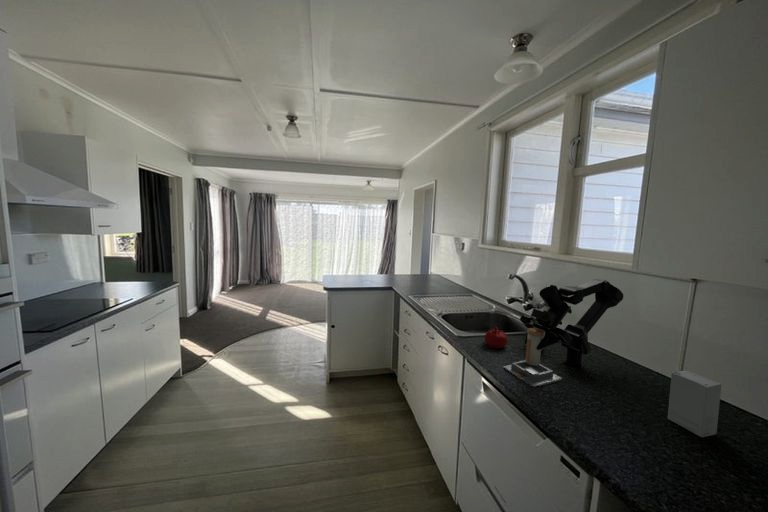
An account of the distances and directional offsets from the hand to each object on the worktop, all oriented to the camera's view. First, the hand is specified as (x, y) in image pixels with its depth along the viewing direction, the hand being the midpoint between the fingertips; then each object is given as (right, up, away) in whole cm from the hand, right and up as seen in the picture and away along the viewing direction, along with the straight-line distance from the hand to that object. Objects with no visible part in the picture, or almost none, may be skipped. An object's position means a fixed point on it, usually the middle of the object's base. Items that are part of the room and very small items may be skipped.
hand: (531, 346), depth 106 cm
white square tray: (+1, -11, +2) cm, 11 cm away
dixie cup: (+15, -9, +25) cm, 30 cm away
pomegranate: (-3, -8, +26) cm, 28 cm away
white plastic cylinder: (+1, -6, +1) cm, 7 cm away
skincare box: (+33, -15, -24) cm, 44 cm away
